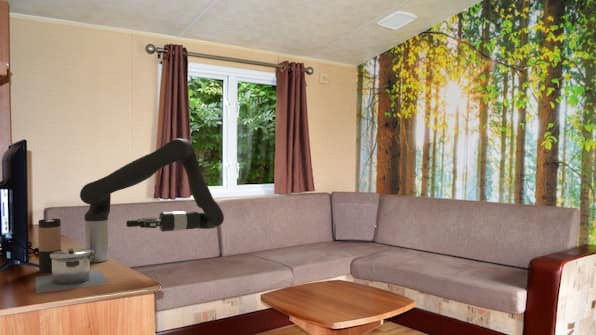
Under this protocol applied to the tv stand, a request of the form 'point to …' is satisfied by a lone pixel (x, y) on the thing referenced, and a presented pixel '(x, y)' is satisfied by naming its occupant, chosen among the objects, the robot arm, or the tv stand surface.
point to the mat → (46, 285)
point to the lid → (71, 253)
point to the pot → (71, 270)
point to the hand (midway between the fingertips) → (126, 223)
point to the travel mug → (48, 243)
